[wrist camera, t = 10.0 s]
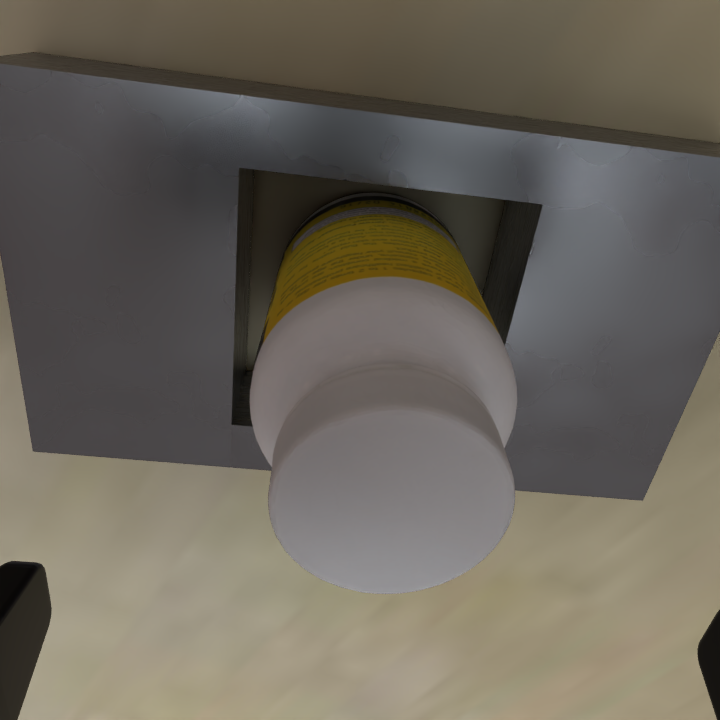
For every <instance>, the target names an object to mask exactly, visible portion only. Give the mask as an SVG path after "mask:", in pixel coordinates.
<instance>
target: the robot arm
mask: <svg viewBox="0 0 720 720" xmlns="http://www.w3.org/2000/svg"><path fill="white" fill-rule="evenodd" d="M51 609H52V608H51V600H50V595H49V589H48V583H47V577H46V572H45V568H44V567H43V565H42V564H40V563H36V562H20V561H10V562H7V563H5V564H3V565H1V566H0V720H17V719H18V716H19V713H20V710H21V707H22V704H23V702H24V699H25V696H26V693H27V690H28V687H29V684H30V681H31V678H32V675H33V672H34V669H35V666H36V663H37V660H38V657H39V654H40V651H41V648H42V645H43V642H44V639H45V636H46V633H47V630H48V627H49V623H50V619H51ZM698 661H699V665H700V668H701V671H702V674H703V677H704V681H705V684H706V687H707V690H708V693H709V696H710V699H711V702H712V705H713V708H714V711H715V715H716V718H717V720H720V610H719V611H718V612H717V614H716V615H715V617H714V619H713V620H712V622H711V624H710V625H709V627H708V629H707V630H706V632H705V634H704V635H703V637H702V639H701V640H700V642H699V645H698Z"/></svg>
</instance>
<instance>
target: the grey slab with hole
mask: <svg viewBox="0 0 720 720" xmlns="http://www.w3.org/2000/svg"><path fill="white" fill-rule="evenodd" d="M254 169H255V170H263V171H271V172H280V173H288V174H296V175H304V176H313V177H321V178H329V179H338V180H346V181H354V182H362V183H371V184H379V185H387V186H396V187H404V188H412V189H420V190H429V191H437V192H445V193H453V194H462V195H470V196H478V197H487V198H495V199H503V200H506V202H505V206H504V210H503V214H502V218H501V223H500V227H499V231H498V235H497V239H496V243H495V248H494V252H493V256H492V260H491V264H490V269H489V273H488V277H487V281H486V285H485V289H484V294H483V298H482V299H483V301H484V303H485V305H486V307H487V309H488V311H489V314H490V316H491V318H492V320H493V322H494V324H495V326H496V328H497V330H498V332H499V335H500V337H501V339H502V341H503V344H504V346H505V348H506V350H507V353H508V355H509V358H510V360H511V364H512V367H513V370H514V374H515V380H516V386H517V407H516V415H515V421H514V425H513V429H512V431H511V434H510V437H509V439H508V441H507V444H506V446H505V448H504V449H505V452H506V455H507V458H508V461H509V464H510V467H511V470H512V474H513V478H514V485H515V490H518V491H530V492H542V493H555V494H567V495H580V496H592V497H604V498H617V499H629V500H642V501H643V499H644V497H645V495H646V493H647V490H648V488H649V486H650V484H651V482H652V479H653V477H654V475H655V473H656V471H657V468H658V466H659V464H660V462H661V460H662V457H663V455H664V453H665V451H666V448H667V446H668V444H669V442H670V440H671V437H672V435H673V433H674V431H675V429H676V426H677V424H678V422H679V420H680V418H681V415H682V413H683V411H684V409H685V407H686V404H687V402H688V400H689V398H690V396H691V393H692V391H693V389H694V387H695V385H696V382H697V380H698V378H699V376H700V374H701V371H702V369H703V367H704V365H705V363H706V360H707V358H708V356H709V354H710V352H711V349H712V347H713V345H714V343H715V341H716V338H717V336H718V334H719V332H720V143H713V142H705V141H698V140H690V139H683V138H675V137H668V136H660V135H652V134H645V133H637V132H630V131H622V130H615V129H607V128H600V127H592V126H585V125H577V124H570V123H562V122H554V121H547V120H539V119H532V118H524V117H517V116H509V115H502V114H494V113H487V112H479V111H471V110H464V109H456V108H449V107H441V106H434V105H426V104H419V103H411V102H404V101H396V100H389V99H381V98H373V97H366V96H358V95H351V94H343V93H336V92H328V91H321V90H313V89H306V88H298V87H290V86H283V85H275V84H268V83H260V82H253V81H245V80H238V79H230V78H223V77H215V76H208V75H200V74H192V73H185V72H177V71H170V70H162V69H155V68H147V67H140V66H132V65H125V64H117V63H110V62H102V61H94V60H87V59H79V58H72V57H64V56H57V55H49V54H42V53H34V52H32V53H23V54H14V55H5V56H0V254H1V260H2V266H3V272H4V278H5V284H6V290H7V296H8V302H9V308H10V314H11V321H12V327H13V333H14V339H15V345H16V351H17V357H18V363H19V369H20V375H21V381H22V388H23V394H24V400H25V406H26V412H27V418H28V424H29V430H30V436H31V442H32V448H33V451H34V452H47V453H59V454H71V455H84V456H96V457H109V458H121V459H133V460H146V461H158V462H171V463H183V464H195V465H208V466H220V467H233V468H245V469H257V470H270V471H272V467H271V465H270V464H269V463H268V461H267V459H266V457H265V456H264V454H263V453H262V451H261V449H260V446H259V444H258V442H257V440H256V437H255V433H254V430H253V425H252V421H251V414H250V388H251V382H252V375H253V371H246V362H247V337H248V313H249V289H250V264H251V240H252V215H253V191H254Z"/></svg>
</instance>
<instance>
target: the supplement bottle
mask: <svg viewBox="0 0 720 720" xmlns="http://www.w3.org/2000/svg"><path fill="white" fill-rule="evenodd" d="M516 407H517V386H516V380H515V374H514V370H513V367H512V364H511V360H510V358H509V355H508V353H507V350H506V348H505V346H504V344H503V341H502V339H501V337H500V335H499V332H498V330H497V328H496V326H495V324H494V322H493V320H492V318H491V316H490V314H489V311H488V309H487V307H486V305H485V303H484V301H483V299H482V297H481V295H480V293H479V290H478V288H477V286H476V284H475V282H474V280H473V278H472V275H471V273H470V271H469V269H468V267H467V265H466V263H465V260H464V258H463V256H462V254H461V252H460V250H459V248H458V246H457V244H456V242H455V240H454V238H453V237H452V235H451V234H450V232H449V231H448V229H447V228H446V227H445V226H444V224H443V223H442V222H441V221H440V220H439V219H438V218H437V217H436V216H435V215H433V214H432V213H431V212H430V211H428V210H427V209H426V208H424V207H423V206H421V205H419V204H417V203H415V202H413V201H411V200H409V199H406V198H403V197H400V196H396V195H392V194H385V193H360V194H354V195H350V196H346V197H343V198H340V199H337V200H335V201H333V202H331V203H329V204H327V205H325V206H323V207H322V208H320V209H319V210H317V211H316V212H315V213H313V214H312V215H311V216H310V217H308V218H307V219H306V220H305V221H304V222H303V223H302V224H301V225H300V227H299V228H298V229H297V230H296V232H295V233H294V234H293V236H292V238H291V239H290V241H289V243H288V245H287V247H286V250H285V252H284V254H283V257H282V260H281V263H280V267H279V270H278V274H277V279H276V282H275V286H274V290H273V293H272V298H271V302H270V306H269V310H268V314H267V318H266V321H265V325H264V330H263V333H262V336H261V341H260V344H259V348H258V351H257V355H256V359H255V363H254V370H253V375H252V382H251V388H250V414H251V421H252V425H253V430H254V433H255V437H256V440H257V442H258V444H259V446H260V449H261V451H262V453H263V454H264V456H265V457H266V459H267V461H268V463H269V464H270V465H271V467H272V472H271V478H270V486H269V493H268V506H269V515H270V520H271V523H272V526H273V529H274V532H275V534H276V537H277V538H278V540H279V541H280V543H281V545H282V546H283V548H284V549H285V551H286V552H287V553H288V554H289V555H290V556H291V557H292V558H293V560H294V561H296V562H297V563H298V564H299V565H300V566H301V567H303V568H304V569H305V570H307V571H308V572H310V573H311V574H313V575H315V576H316V577H318V578H320V579H321V580H324V581H326V582H329V583H331V584H334V585H336V586H339V587H342V588H345V589H350V590H354V591H358V592H364V593H376V594H395V593H406V592H413V591H419V590H423V589H427V588H431V587H434V586H437V585H440V584H442V583H445V582H447V581H450V580H452V579H454V578H456V577H458V576H460V575H462V574H463V573H465V572H467V571H468V570H470V569H471V568H473V567H474V566H476V565H477V564H478V563H480V562H481V561H482V560H483V559H484V558H485V557H486V556H487V555H488V554H489V553H490V552H491V551H492V550H493V549H494V548H495V547H496V545H497V544H498V543H499V541H500V540H501V538H502V537H503V535H504V533H505V531H506V530H507V528H508V526H509V523H510V521H511V518H512V514H513V510H514V503H515V485H514V478H513V474H512V470H511V467H510V464H509V461H508V458H507V455H506V452H505V449H504V448H505V446H506V444H507V441H508V439H509V437H510V434H511V431H512V429H513V425H514V421H515V415H516Z"/></svg>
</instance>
